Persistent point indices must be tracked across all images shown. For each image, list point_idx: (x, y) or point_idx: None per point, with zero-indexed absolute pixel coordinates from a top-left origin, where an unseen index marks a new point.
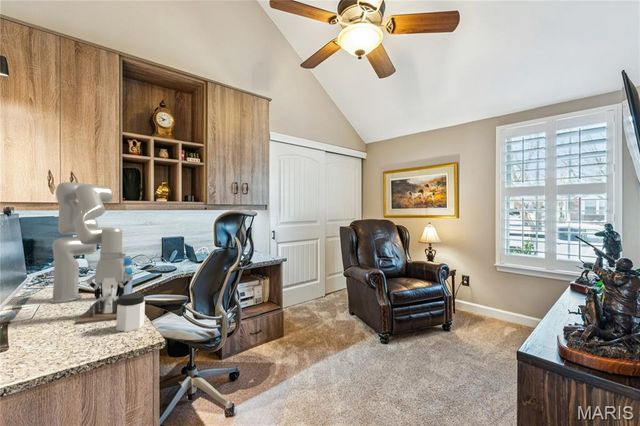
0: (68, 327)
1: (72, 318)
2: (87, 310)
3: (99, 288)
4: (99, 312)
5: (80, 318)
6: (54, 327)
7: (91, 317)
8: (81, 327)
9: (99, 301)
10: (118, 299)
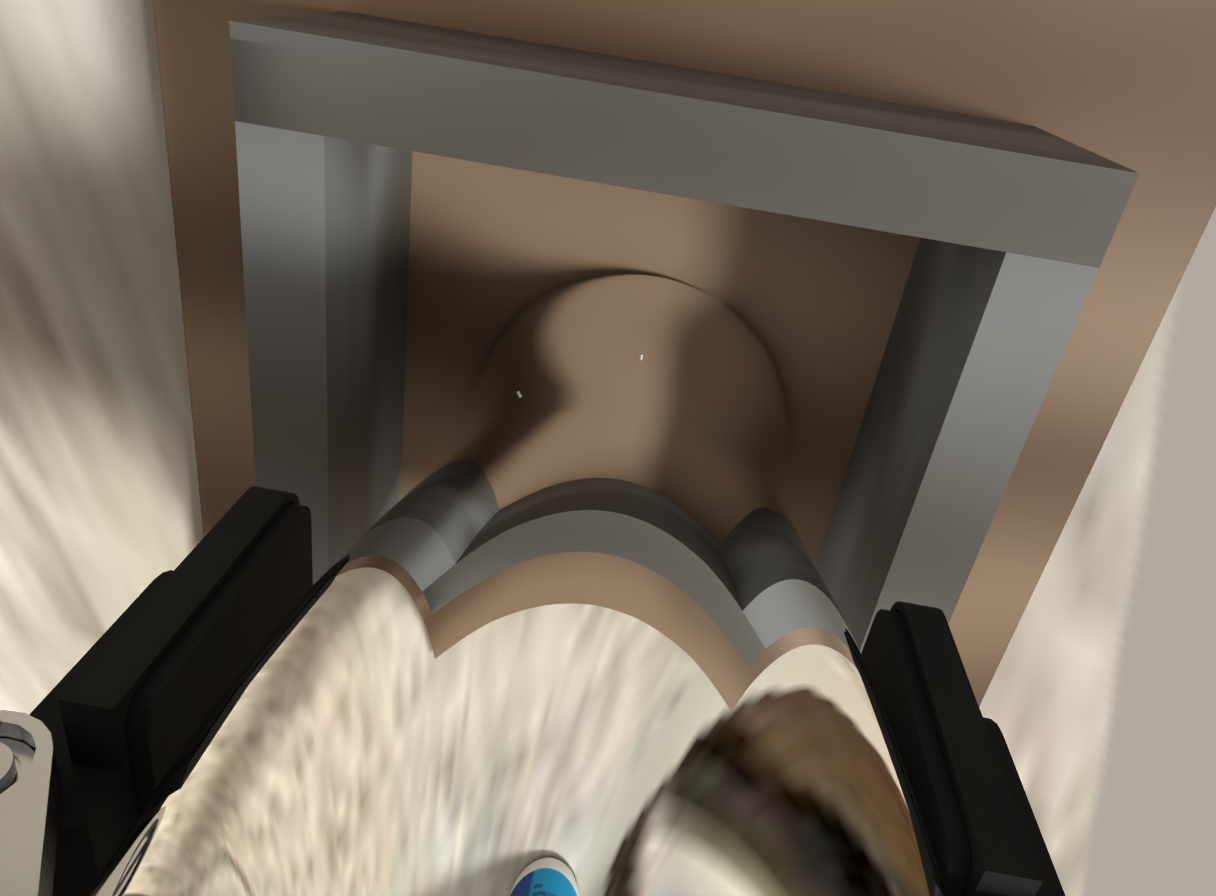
0: None
1: (61, 311)
2: (154, 7)
3: (125, 739)
4: (453, 349)
5: None
6: (22, 636)
7: None
8: None
9: (329, 197)
10: (838, 217)
